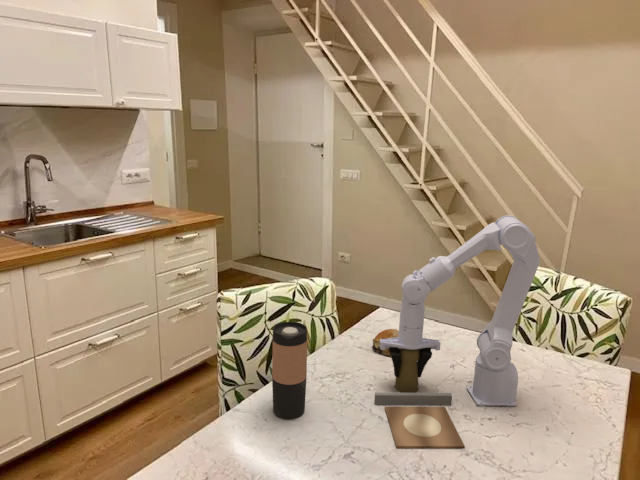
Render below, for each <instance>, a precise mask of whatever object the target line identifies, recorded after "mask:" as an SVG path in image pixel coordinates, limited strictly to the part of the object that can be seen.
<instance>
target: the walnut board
mask: <svg viewBox="0 0 640 480" xmlns="http://www.w3.org/2000/svg"><path fill="white" fill-rule="evenodd" d="M384 411H385V414H386V418H387V421H388V425H389V429H390V431H391V436H392V439H393V442H394V446H395V449H465V447H466V446H465V444H464V441H463V440H462V438H461V436H460V434H459V432H458V430H457V428H456V426H455V424H454V423H453V420H452V419H451V416H450V414H449V412H448V411H447V408H446V406H402V405H384Z"/></svg>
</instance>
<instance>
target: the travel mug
mask: <svg viewBox="0 0 640 480" xmlns="http://www.w3.org/2000/svg"><path fill="white" fill-rule="evenodd" d="M271 356H272V357H271V359H272V362H271V363H272V366H271V368H272V369H271V375H272V377H271V378H272V379H271V381H272V383H271V385H272V410H273V414H274V415H275V416H276V417H277V418H279V419H282V420H295V419H298V418H300V417H302V416H303V415H304V413H305V409H306V406H305V405H306V396H307V395H306V393H307V376H308V375H307V374H308V372H307V370H308V366H307V365H308V362H307V361H308V328H307V326H306V325H305V324H303V323H301V322H298V321H297V322H296V321H283V322H279V323H277V324H275V325H274V326H273V328H272V355H271Z"/></svg>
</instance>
